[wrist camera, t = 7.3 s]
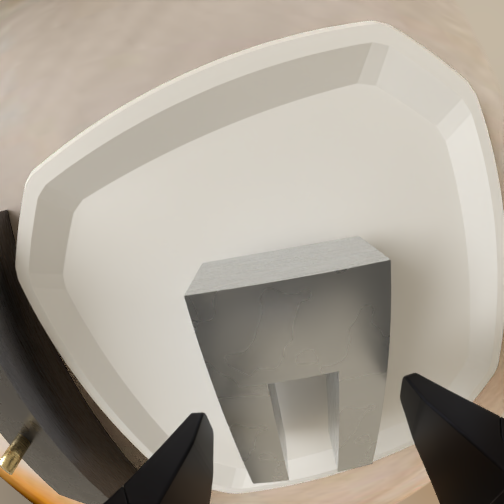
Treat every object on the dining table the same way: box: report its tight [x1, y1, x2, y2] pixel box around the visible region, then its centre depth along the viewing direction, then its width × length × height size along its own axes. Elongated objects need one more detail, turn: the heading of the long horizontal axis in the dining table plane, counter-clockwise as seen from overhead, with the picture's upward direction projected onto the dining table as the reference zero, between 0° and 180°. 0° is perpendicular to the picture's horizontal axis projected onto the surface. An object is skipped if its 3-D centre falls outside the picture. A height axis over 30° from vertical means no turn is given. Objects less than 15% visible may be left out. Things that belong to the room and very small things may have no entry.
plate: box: [15, 20, 504, 494], centre depth 11 cm, size 21×21×2 cm
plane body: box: [0, 210, 137, 504], centre depth 10 cm, size 20×7×8 cm, turn 11°
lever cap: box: [184, 236, 391, 484], centre depth 9 cm, size 9×5×2 cm, turn 11°
